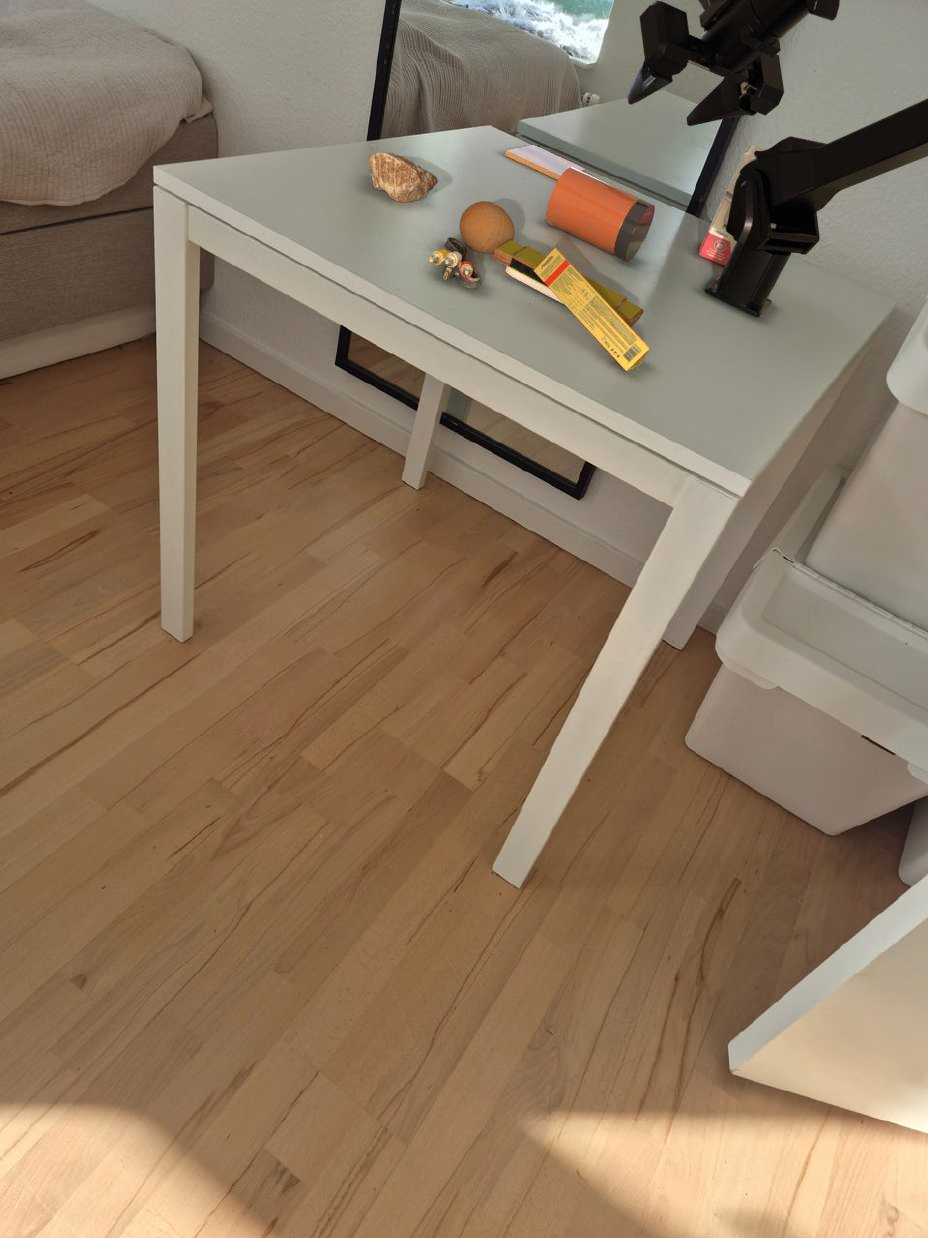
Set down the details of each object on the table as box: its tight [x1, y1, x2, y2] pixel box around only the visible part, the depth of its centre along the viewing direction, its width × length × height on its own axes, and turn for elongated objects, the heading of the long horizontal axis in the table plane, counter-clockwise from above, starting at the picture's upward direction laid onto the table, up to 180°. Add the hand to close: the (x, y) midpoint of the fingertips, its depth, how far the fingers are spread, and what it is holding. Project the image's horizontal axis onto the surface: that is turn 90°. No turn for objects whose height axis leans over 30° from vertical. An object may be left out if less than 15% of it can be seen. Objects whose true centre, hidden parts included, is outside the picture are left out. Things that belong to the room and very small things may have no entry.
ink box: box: [698, 144, 776, 267], centre depth 97 cm, size 9×5×12 cm, turn 68°
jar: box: [545, 167, 656, 262], centre depth 90 cm, size 10×6×6 cm, turn 60°
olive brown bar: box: [492, 240, 645, 329], centre depth 76 cm, size 15×3×2 cm, turn 60°
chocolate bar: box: [534, 247, 651, 372], centre depth 71 cm, size 3×12×2 cm
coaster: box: [504, 144, 587, 181], centre depth 110 cm, size 8×8×1 cm
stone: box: [367, 151, 439, 204], centre depth 84 cm, size 7×6×5 cm
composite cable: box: [428, 236, 481, 289], centre depth 75 cm, size 10×5×2 cm, turn 170°
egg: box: [459, 200, 516, 254], centre depth 79 cm, size 4×4×6 cm
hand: (659, 111), depth 96 cm, fingers open, 9 cm apart
